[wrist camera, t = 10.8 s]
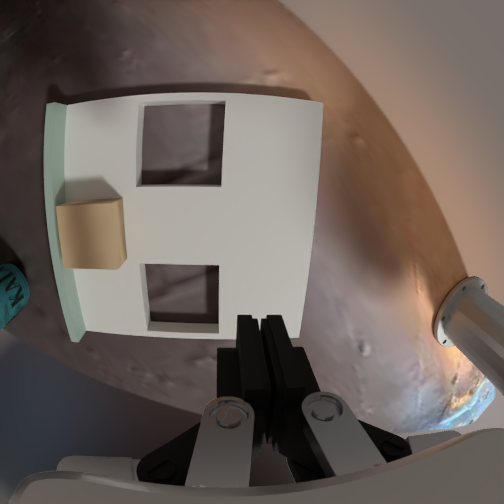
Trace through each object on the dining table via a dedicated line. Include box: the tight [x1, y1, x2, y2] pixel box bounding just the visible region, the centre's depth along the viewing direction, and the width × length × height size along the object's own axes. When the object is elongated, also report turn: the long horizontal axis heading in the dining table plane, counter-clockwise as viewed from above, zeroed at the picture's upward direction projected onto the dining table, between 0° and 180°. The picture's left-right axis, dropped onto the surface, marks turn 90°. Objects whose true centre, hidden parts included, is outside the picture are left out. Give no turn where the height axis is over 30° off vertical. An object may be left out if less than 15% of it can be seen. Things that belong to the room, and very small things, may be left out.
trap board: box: [44, 92, 323, 342], centre depth 26 cm, size 26×25×4 cm
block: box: [56, 198, 127, 270], centre depth 24 cm, size 6×6×3 cm
